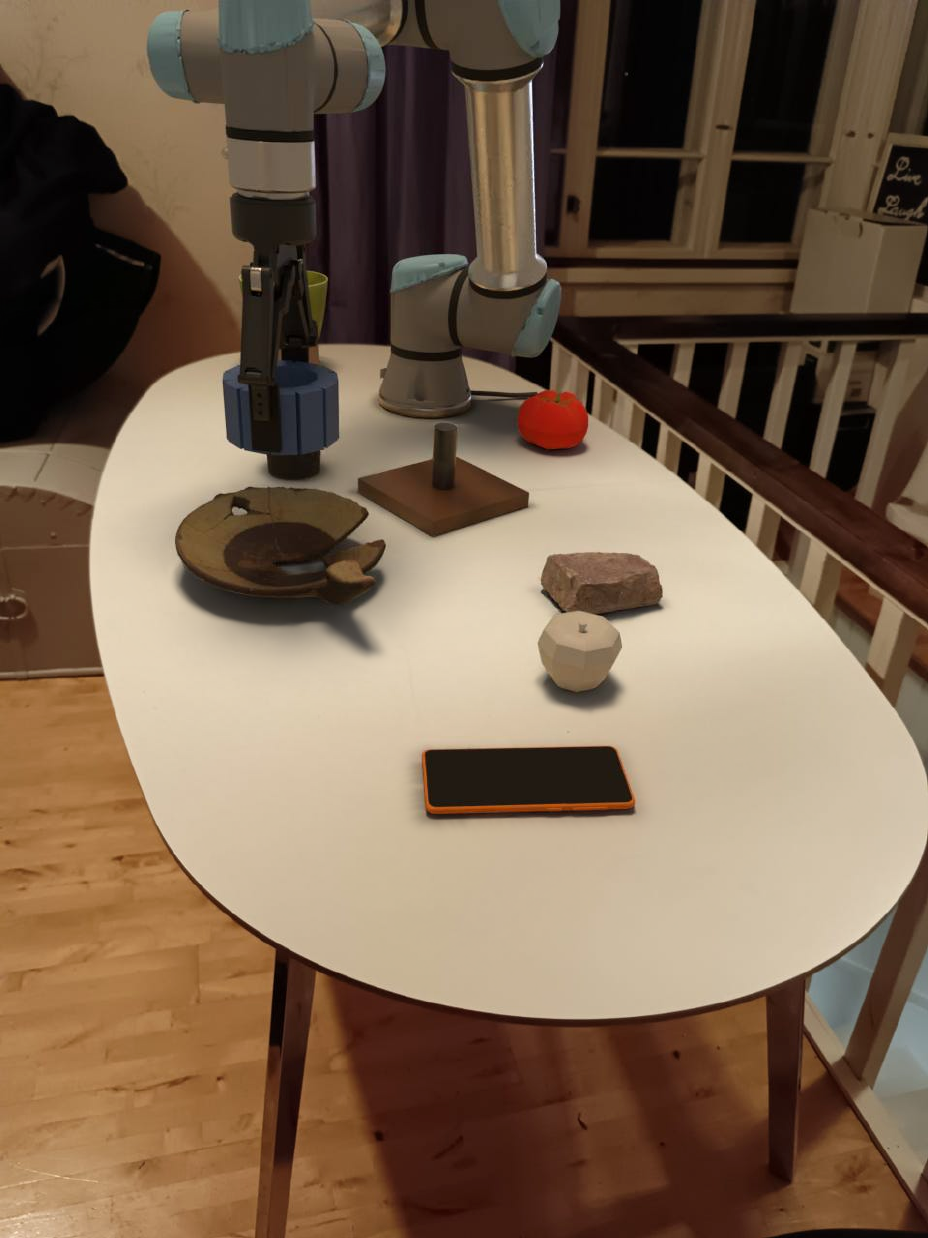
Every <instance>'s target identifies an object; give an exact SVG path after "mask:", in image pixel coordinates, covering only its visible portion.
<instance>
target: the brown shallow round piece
mask: <svg viewBox="0 0 928 1238" xmlns="http://www.w3.org/2000/svg"><path fill="white" fill-rule="evenodd" d="M234 508H237V509H238V510H240V509H242V510H244V511H245V512H246V513H244V514H234V513H233V509H234ZM369 515H370V512H369V510H368V509H367V508H366V507H365V506H362V505H360V504H359V503H358V502H356V501H354V500H352V499H351V498H347V497H343V496H342V495H339V494H337V493H335V492H333V491H327V490H322V489H317V488H308V487H307V488H306V487H303V488H301V487H293V486H292V487H291V486H290V487H285V486H274V487H273V486H272V487H271V486H267V487H256V486H247V487H245V488H243V489H239V490H237V491H235V492H232V491H231V492H227V493H222V492H220V493H217V494H216V495H215V496H213V498H212V499H211V500H209V501H207V502H205V503H203V504H201V505H199V506H198V507H196V508H195V509H193V510H192V511H191V512H189V513H187V515H186V516H185V517H184V518H183V519H182V520H181V522H180V524H179V525H178V527H177V529H176V531H175V535H174V546H175V551H176V554H177V556H178V558H179V559H180V561H181V563H182V564H183V566H185V567H186V569H187V570H188V571H189V572H190V573H191V574H192V575H193V576H195V577H196V578H198V579H199V580H201V581H202V582H204V583H206V584H208V585H211V586H213V587H215V588H217V589H221V590H224V591H226V592H227V591H228V592H231V593H234V594H238V595H239V594H240V595H244V596H245V595H246V596H251V597H259V598H282V599H283V598H284V599H285V598H286V599H288V598H291V599H292V598H293V599H296V598H297V599H301V598H318V599H320V600H322V601H324V602H325V603H327V604H329V605H331V606H342V605H345V604H349V602H351V601H352V600H354V599H355V598H357V597H359V596H361V595H363V594H365V593H367V592H368V591H370V590H371V589H372V588H374V587H375V586H376V585H377V581H376V579H375V578H374V577H373V576H371V575H367V573H369V572H370V571H372V570H373V569H374V568H375V567H376V566H377V565H378V564H379V562H380V561H381V559H382V558H383V556H384V554H385V550H386V548H387V544H386V542H385V540H384V539H383V538H382V539H377V540H374V541H371V542H368V541H367V542H366V543H364V544H362V545H358V546H353V547H350V548H347V549H344V550H339V551H336V552H333V553H330V552H331V551H333V550H334V548H335V547H336V546H338V545H340V544H341V543H343V542H344V541H345V540H346V539H347V537H349V536H350V535H351V534H352V533H353V532H354V531H355V530H356V529H358V528H359V527H360V526H361V525H362V524H363V523H364V522H365V521H366V520H367V518H368V517H369ZM320 558H321V561H322V564H323V566H324V568H325V569H321V570H317V571H313V570H312V569H311V568H309V567H307V569H308V570H310V571H311V572H301V573H296V574H295V573H293V574H291V573H287V572H285V571H284V570H283V569H282V568H281V567H278V566H277V565H275V564H276V563H277V564H278V563H280V564H282V563H300V562H308V561H312V560H314V559H320Z"/></svg>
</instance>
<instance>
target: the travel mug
mask: <svg viewBox="0 0 928 1238" xmlns="http://www.w3.org/2000/svg"><path fill="white" fill-rule="evenodd" d="M312 320H313V319H312ZM313 327H314V332H313V335H312V336H317V345H316V347H309V346H305V348H309V363H313V364H318V366H320V349H319V348H320V347H319V340H318V324H317V322H316V321H315V320H313ZM309 336H311V335H309ZM283 346H284V347H289V345H285V344H284V340H283V336H282V332H281V335H280V344H279V353H278V360H282V358H281V348H282V347H283ZM297 453H298V454H297V455H271V452H270V453H268V454H267V455H266V464H267V471H268V473H269V474H270V475H272V476H273V477H275V478H278V479H282V480H295V481H296V480H304V479H309V478H312V477H315V476H316V475H318V474H319V473H320V471H321V450H319V451H315V452H311V453H306V454H300V453H299V452H297Z"/></svg>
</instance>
